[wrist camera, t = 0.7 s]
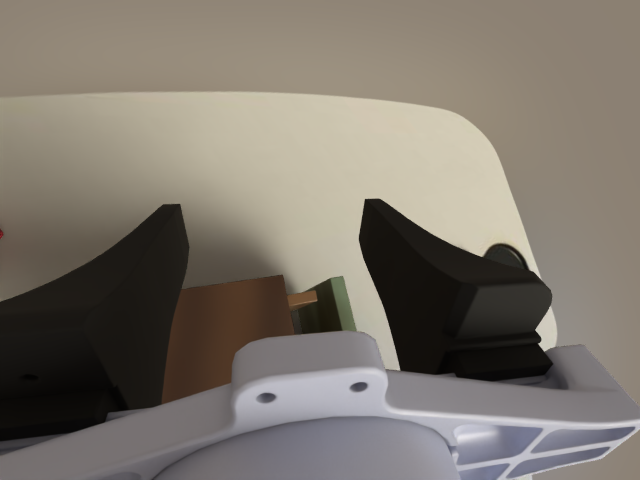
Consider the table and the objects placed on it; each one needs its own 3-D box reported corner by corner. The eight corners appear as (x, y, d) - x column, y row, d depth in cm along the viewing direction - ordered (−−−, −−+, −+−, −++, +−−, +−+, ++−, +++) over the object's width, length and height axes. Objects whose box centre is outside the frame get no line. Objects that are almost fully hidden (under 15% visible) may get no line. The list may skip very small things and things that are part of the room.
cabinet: (249, 298, 32) (283, 274, 24) (273, 434, 29) (320, 459, 21) (71, 329, 26) (33, 310, 18) (79, 505, 23) (38, 580, 15)
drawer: (316, 292, 34) (356, 273, 27) (341, 404, 31) (392, 413, 25) (164, 319, 28) (168, 303, 21) (180, 462, 25) (190, 495, 19)
